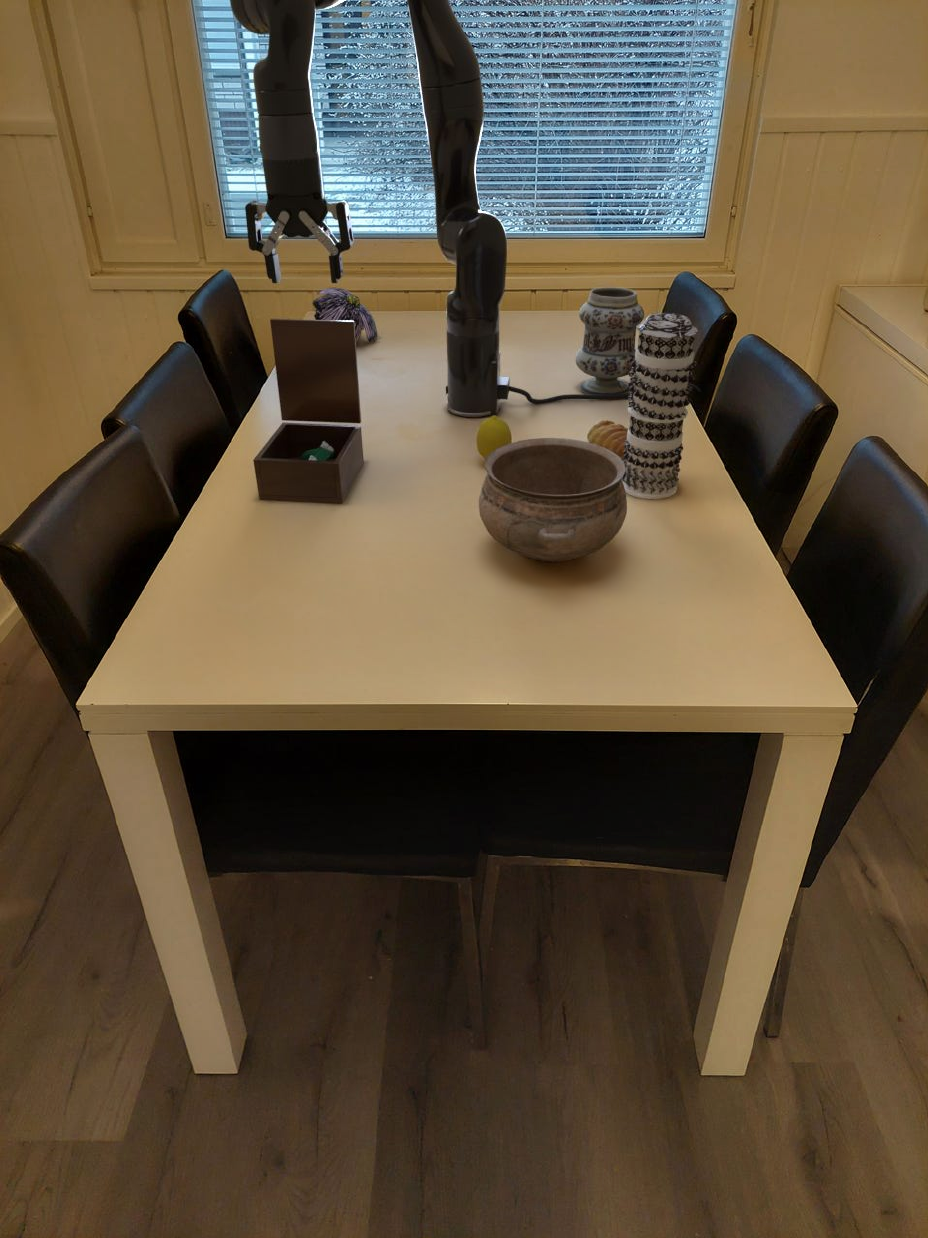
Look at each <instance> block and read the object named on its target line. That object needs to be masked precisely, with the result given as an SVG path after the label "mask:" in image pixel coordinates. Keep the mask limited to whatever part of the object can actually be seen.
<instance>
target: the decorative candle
mask: <svg viewBox="0 0 928 1238" xmlns="http://www.w3.org/2000/svg"><path fill="white" fill-rule="evenodd" d="M692 323H693V322H692V321H691V320H690V318H689V317H688V316H685V315H683V314H680V313H675V312H658V313H657V312H656V313H653V314H650V315H648V316H647V317H646V318H645V320H643V322H641V323H640V324H639V325H637V327H636V330H637V331H638V332H639V333H638V338H637V342H638V344H637V348H635V349H636V354H635V356H632V357H631V358H630V362H631V363H630V365H631V366H632V369H631V372H630V373H629V375H628V376H629V378H630V379H629V380H630V381H629V382H628V386H629V391H630V396H629V397H628V398H627V401H628V408H627V412H628V415H629V416H630V418H629V427H628V432H627V440H626V441H625V442H624V444H625V448H626V450H625V451H624V452H623V454H624V458H625V459H623V460H622V461H623V463H624V465H625V473H624V475H623V477H622V478H621V479H622V482H623V485H624V488H625V493H626V495H627V494H628V495H630V496H632V497H636V498H638V499H644V500H645V499H646V500H661V499H666V498H670V497H672V496H673V495H675V494H676V492H677V490H678V482H679V481H680V478H679V473H680V472H681V468H680V463H681V461H682V458H683V457H682V456H681V455H682V454H681V453H682V452H683V450H684V446H683V437H684V436H683V435H684V433H683V426H684V419H686V418H687V417H688V414H689V410H688V409H687V408H686V407H688V406H689V405H691V403H692V400H691V398H690V397H689V396H690V395H691V394H692V393H693V392H694V390H693V388H691V387H690V386H689V385H687V384H688V383H691V382H692V381H694V380H695V379H696V378H697V376H696V374H695V373H694V372H693V371H694V370H696V369H697V368H698V366H699V363H698V362H697V361H695V360H694V356H695V351H694V347H695V341H696V334H697V333H698V332H699V329H698V328H697V327H696V326H694V325H693V324H692ZM635 360H636V361H635ZM636 362H637V365H636Z"/></svg>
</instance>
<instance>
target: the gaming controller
mask: <svg viewBox="0 0 928 1238" xmlns="http://www.w3.org/2000/svg"><path fill="white" fill-rule="evenodd" d="M334 452H335V451H334V449H333V448H332V447H331V446H329V444H327V443H326V442H324V441H323V443H322V445H320V447H319V448H317V449H313V450H308V451H306V452H305V453H303V454H302V456H301V460H319V461H329V459H330V458H332V456H333V454H334Z"/></svg>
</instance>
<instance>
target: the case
mask: <svg viewBox="0 0 928 1238" xmlns="http://www.w3.org/2000/svg"><path fill="white" fill-rule="evenodd" d="M362 434H363V433H362V425H360V424H359V425H358V424H336V423H335V424H333V423H332V424H331V423H309V422H306V423H305V422H285V421H284V422H282V423H281V424H280V425H279V427H278V428H277V429H276V430H275V431H274V433H273V434H272V436H271V437H270V438H268V441H267V442H266V443H265V444H264V445H263V447H262V448H261V449H260V450H259V452H258V453H257V455H256V456H255V457H254V458H253V460H252V461H253V467H254V468H253V469H254V474H255V480H256V487H257V494H258V499H259V500H268V501H288V502H306V503H307V502H308V503H309V502H310V503H329V504H330V503H331V504H343V503H344V501H345V499H346V498H347V496H348V493H349V492H350V489H351V488H352V486H353V484H354V482H355V480H356V478H357V476H358V474H359V472H360V470H361V469H362V467H363V465H364V463H365V462H364V461H365V460H364V447H363V435H362ZM323 441H324V442H326V443H327V444H329V446H331V447H332V448H333V449H334V451H335V452H334V454H333V456H332V458H330V459H329V461H319V460H301V456H302V454H303V453H305V452H306V451H308V450H313V449H317V448H319V447H320V445H322V443H323Z"/></svg>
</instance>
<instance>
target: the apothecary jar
mask: <svg viewBox="0 0 928 1238" xmlns="http://www.w3.org/2000/svg"><path fill="white" fill-rule="evenodd" d="M582 304H583V305H582V306H581V307H580V309H579V312H578V315H579V317H578V318H579V320H580V321H581V323H583V324H584V333H583V341H582V347H580V349H579V350H578V351H577V352H576V354H575V357H574V360H575V365H576V366H577V368H578V369H579V370H580V371H581V372H582V373H584V374H586V375H588V376H591V378H589V379H587V380H585V381H583V382H582V383H581V384H580V385H579V390H580V392H582V394H622V393H631V392H630V391H629V386H628V384H629V382H627V381H624V380H622V379H620V378H622V377H626V376H629V373H630V372H631V369H632V366H631V365H630V363H631V362H630V358H631V357H632V356H635V354H636V349H637V348H636V338H637V337H636V336H637V327H638V325H640V324H642V323H643V322H644V319H645V311H644V309H643V308H644V307H642V305H641V304H640V303H639V300H638V294H637V292H636V291H635V290H633V289H631V288H626V287H618V286H617V287H615V286H602V287H601V286H600V287H595V288H593V289H591V290H590V291H589V297H588V299H587V301H586V302H584V303H582ZM635 361H636V360H635ZM636 365H637V362H636Z"/></svg>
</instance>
